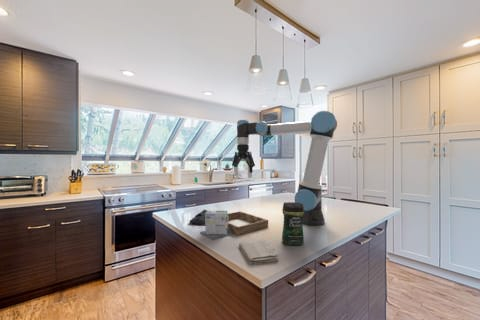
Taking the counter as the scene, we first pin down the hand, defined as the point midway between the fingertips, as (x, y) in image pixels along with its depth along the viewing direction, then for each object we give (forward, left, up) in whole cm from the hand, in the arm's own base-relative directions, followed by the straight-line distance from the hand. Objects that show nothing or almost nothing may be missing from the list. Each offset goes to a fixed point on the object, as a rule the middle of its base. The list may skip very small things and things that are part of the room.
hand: (242, 177), depth 140 cm
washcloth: (-44, +28, -27) cm, 59 cm away
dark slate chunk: (+13, +22, -27) cm, 37 cm away
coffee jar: (-46, +8, -27) cm, 54 cm away
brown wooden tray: (-10, +11, -27) cm, 30 cm away
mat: (-14, +29, -27) cm, 41 cm away
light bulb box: (-14, +29, -26) cm, 41 cm away
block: (-2, +17, -27) cm, 32 cm away
